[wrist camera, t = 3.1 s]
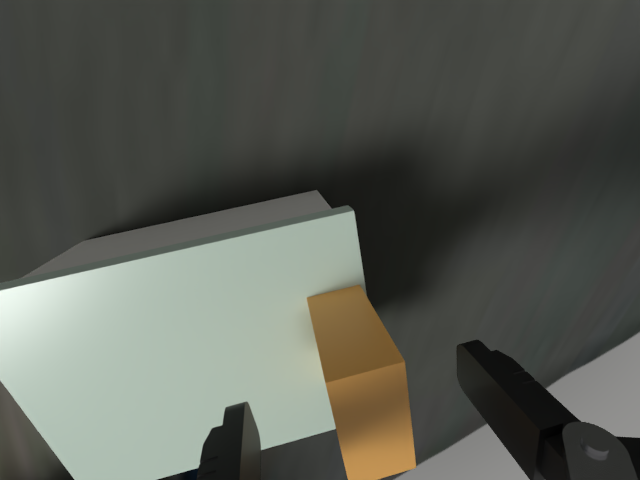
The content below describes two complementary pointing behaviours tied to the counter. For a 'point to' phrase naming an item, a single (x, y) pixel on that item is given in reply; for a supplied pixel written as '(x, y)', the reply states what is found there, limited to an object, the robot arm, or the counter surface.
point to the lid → (208, 351)
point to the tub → (186, 230)
